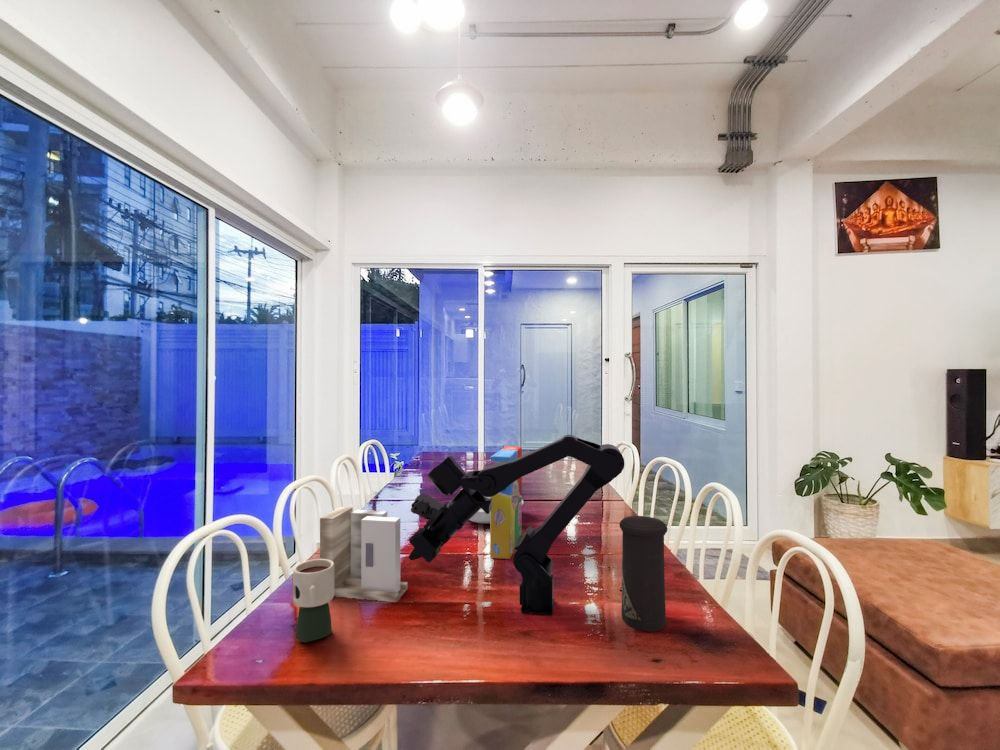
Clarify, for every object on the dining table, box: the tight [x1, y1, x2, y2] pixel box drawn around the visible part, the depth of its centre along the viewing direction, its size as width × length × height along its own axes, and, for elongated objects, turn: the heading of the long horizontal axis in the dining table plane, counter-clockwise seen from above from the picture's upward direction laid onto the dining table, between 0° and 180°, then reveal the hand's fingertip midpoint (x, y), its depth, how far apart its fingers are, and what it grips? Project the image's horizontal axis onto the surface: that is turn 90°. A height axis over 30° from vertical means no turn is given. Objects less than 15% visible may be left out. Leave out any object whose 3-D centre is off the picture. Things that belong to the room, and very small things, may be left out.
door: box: [361, 516, 401, 593], centre depth 102 cm, size 8×3×16 cm, turn 80°
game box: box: [489, 445, 523, 560], centre depth 131 cm, size 21×6×27 cm, turn 168°
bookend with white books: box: [319, 506, 409, 603], centre depth 104 cm, size 18×10×17 cm, turn 80°
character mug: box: [292, 558, 335, 643], centre depth 85 cm, size 11×7×13 cm, turn 20°
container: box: [619, 515, 668, 632], centre depth 90 cm, size 9×9×20 cm
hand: (410, 558), depth 101 cm, fingers closed
